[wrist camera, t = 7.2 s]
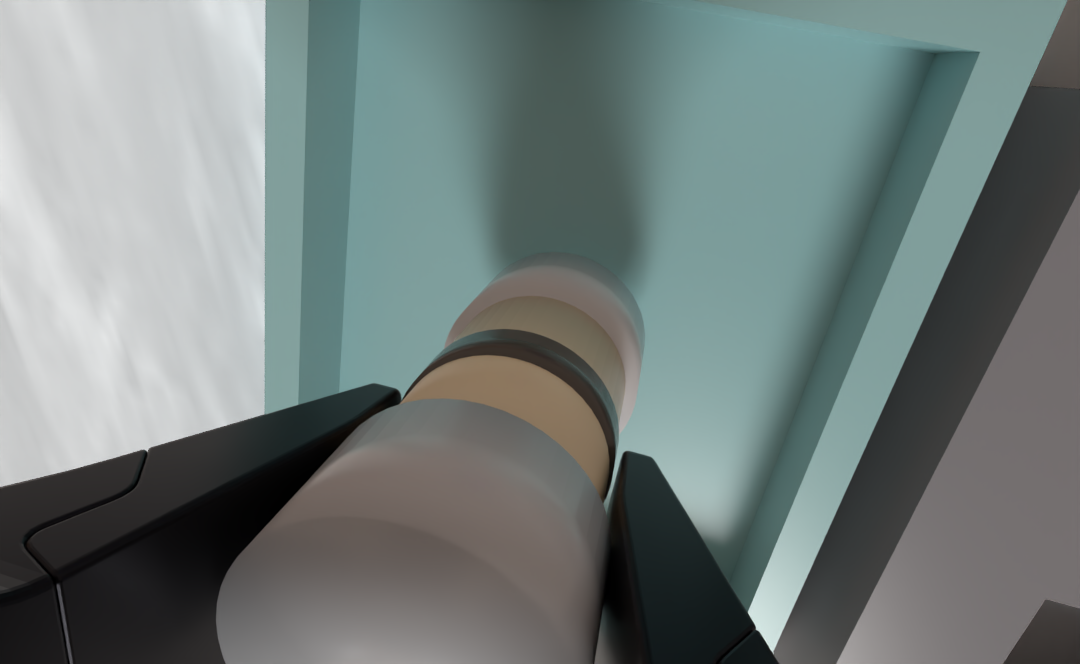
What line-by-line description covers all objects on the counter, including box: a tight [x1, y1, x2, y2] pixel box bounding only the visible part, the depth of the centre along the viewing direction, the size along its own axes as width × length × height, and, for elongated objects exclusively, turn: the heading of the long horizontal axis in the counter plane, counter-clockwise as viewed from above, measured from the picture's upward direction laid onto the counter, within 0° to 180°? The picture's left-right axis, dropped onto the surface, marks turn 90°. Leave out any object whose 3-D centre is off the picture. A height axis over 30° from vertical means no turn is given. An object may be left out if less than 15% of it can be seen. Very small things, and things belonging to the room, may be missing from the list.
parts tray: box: [265, 0, 1067, 653], centre depth 14 cm, size 12×14×2 cm
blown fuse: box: [216, 252, 645, 664], centre depth 9 cm, size 3×3×8 cm
